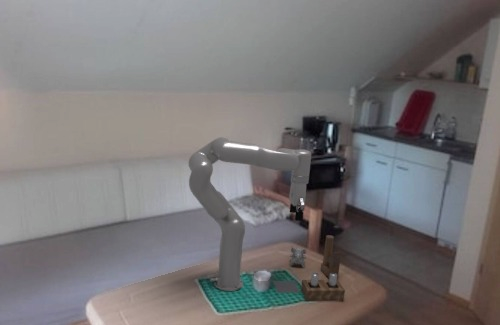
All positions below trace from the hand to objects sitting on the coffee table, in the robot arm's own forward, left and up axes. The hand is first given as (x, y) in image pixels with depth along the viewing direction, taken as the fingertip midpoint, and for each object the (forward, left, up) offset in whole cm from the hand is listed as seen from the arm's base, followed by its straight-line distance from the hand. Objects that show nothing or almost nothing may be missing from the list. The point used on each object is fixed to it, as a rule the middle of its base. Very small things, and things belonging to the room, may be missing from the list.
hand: (295, 216), depth 193 cm
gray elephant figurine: (+7, +16, -31) cm, 35 cm away
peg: (+7, -14, -30) cm, 34 cm away
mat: (-3, -7, -30) cm, 31 cm away
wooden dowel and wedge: (+20, +4, -31) cm, 37 cm away
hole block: (+11, -14, -30) cm, 35 cm away
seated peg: (+15, -14, -30) cm, 37 cm away
